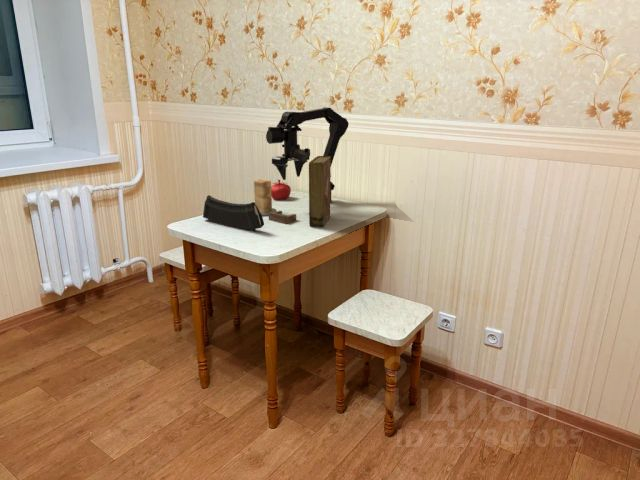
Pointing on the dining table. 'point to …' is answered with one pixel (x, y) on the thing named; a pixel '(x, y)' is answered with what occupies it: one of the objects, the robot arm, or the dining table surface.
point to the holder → (281, 217)
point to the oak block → (263, 195)
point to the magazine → (233, 214)
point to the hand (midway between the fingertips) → (291, 178)
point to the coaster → (269, 212)
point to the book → (319, 190)
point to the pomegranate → (280, 191)
